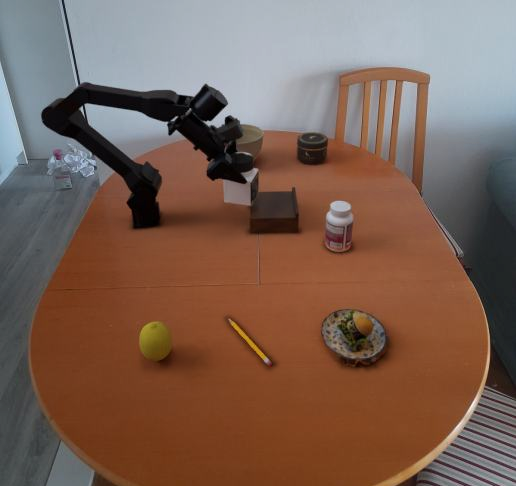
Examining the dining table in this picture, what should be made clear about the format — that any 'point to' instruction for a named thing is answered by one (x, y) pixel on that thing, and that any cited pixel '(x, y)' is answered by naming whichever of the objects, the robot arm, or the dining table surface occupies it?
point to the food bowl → (354, 336)
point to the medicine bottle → (242, 192)
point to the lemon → (155, 341)
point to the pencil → (250, 343)
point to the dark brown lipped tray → (275, 212)
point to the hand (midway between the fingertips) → (246, 174)
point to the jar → (312, 147)
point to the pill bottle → (339, 226)
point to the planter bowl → (250, 140)
